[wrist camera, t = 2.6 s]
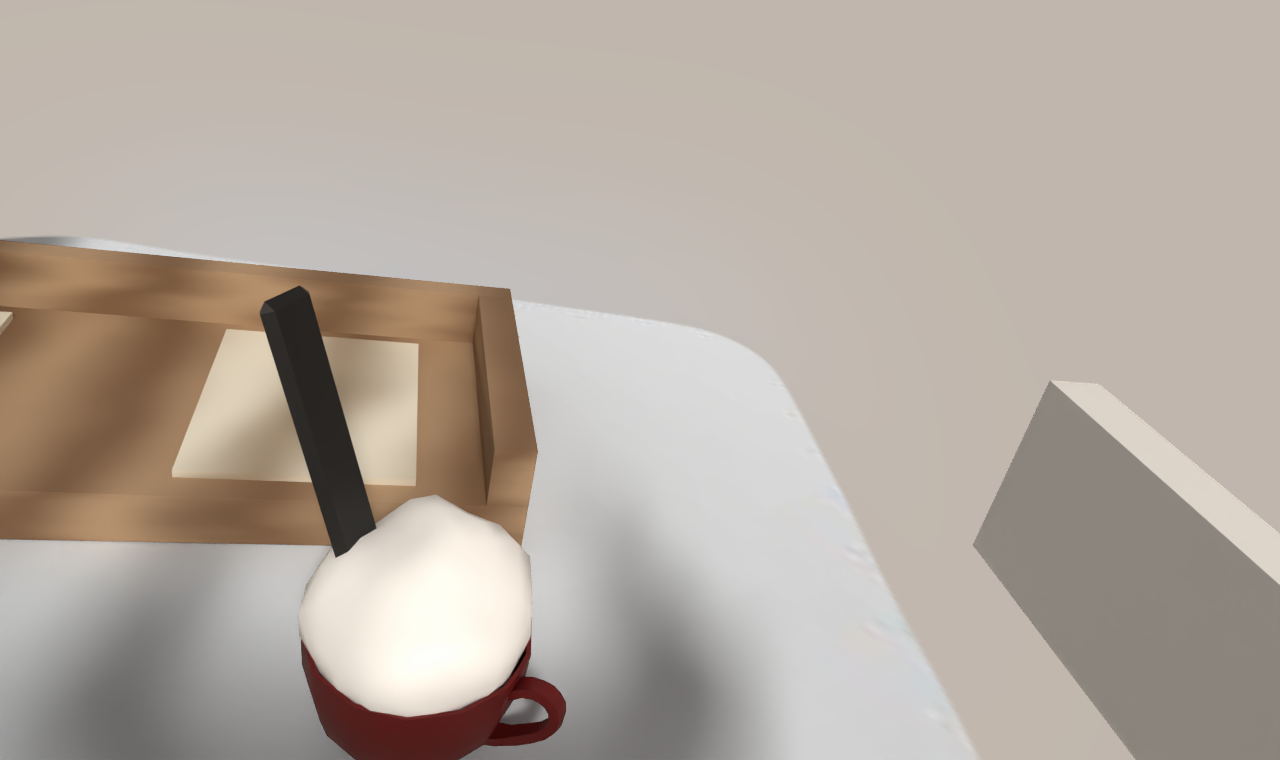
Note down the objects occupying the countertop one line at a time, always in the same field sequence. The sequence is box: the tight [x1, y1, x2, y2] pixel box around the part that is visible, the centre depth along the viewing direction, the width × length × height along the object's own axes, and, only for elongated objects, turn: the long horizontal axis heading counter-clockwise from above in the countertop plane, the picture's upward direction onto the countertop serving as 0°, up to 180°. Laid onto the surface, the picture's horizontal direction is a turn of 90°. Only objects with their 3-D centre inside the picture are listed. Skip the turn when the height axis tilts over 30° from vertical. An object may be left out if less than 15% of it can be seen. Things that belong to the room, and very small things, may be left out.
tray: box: [0, 240, 538, 546], centre depth 34 cm, size 30×13×4 cm, turn 101°
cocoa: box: [260, 285, 566, 760], centre depth 24 cm, size 10×6×12 cm, turn 45°
